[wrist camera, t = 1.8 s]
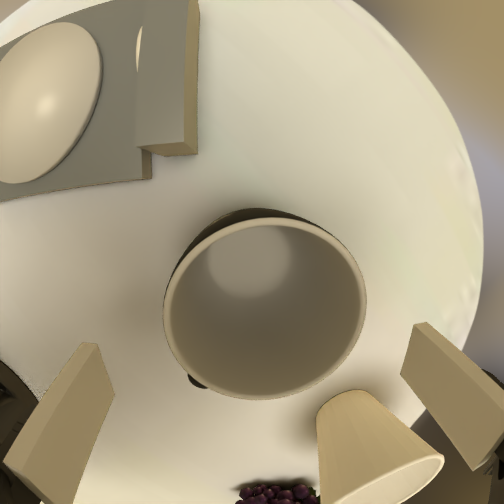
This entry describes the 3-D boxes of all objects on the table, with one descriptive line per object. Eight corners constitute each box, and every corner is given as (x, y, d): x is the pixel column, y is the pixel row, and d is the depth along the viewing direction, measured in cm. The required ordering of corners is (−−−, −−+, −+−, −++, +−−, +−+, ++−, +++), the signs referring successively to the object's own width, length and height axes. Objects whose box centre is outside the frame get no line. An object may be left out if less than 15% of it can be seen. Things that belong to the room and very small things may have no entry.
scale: (-1, 202, 18) (-52, 214, 11) (11, 55, 14) (-31, 37, 7) (198, 174, 19) (184, 173, 13) (200, 2, 16) (194, -50, 9)
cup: (276, 441, 27) (296, 531, 15) (323, 364, 25) (375, 467, 13) (358, 442, 29) (392, 512, 17) (408, 374, 27) (466, 445, 15)
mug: (230, 173, 20) (236, 168, 10) (329, 240, 22) (402, 287, 12) (151, 306, 22) (110, 389, 12) (245, 356, 24) (258, 448, 14)
